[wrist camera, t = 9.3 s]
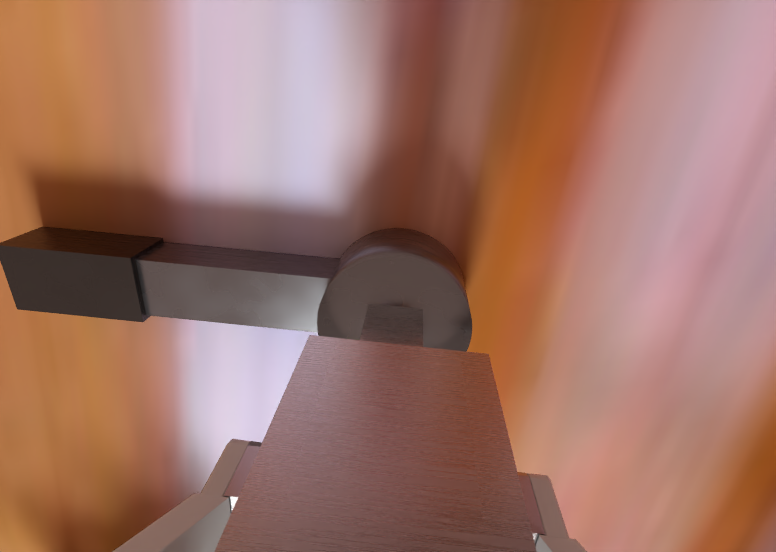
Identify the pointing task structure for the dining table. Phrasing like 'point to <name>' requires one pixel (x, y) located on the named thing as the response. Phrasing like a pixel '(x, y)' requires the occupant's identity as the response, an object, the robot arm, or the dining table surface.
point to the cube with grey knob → (383, 457)
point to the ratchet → (249, 284)
